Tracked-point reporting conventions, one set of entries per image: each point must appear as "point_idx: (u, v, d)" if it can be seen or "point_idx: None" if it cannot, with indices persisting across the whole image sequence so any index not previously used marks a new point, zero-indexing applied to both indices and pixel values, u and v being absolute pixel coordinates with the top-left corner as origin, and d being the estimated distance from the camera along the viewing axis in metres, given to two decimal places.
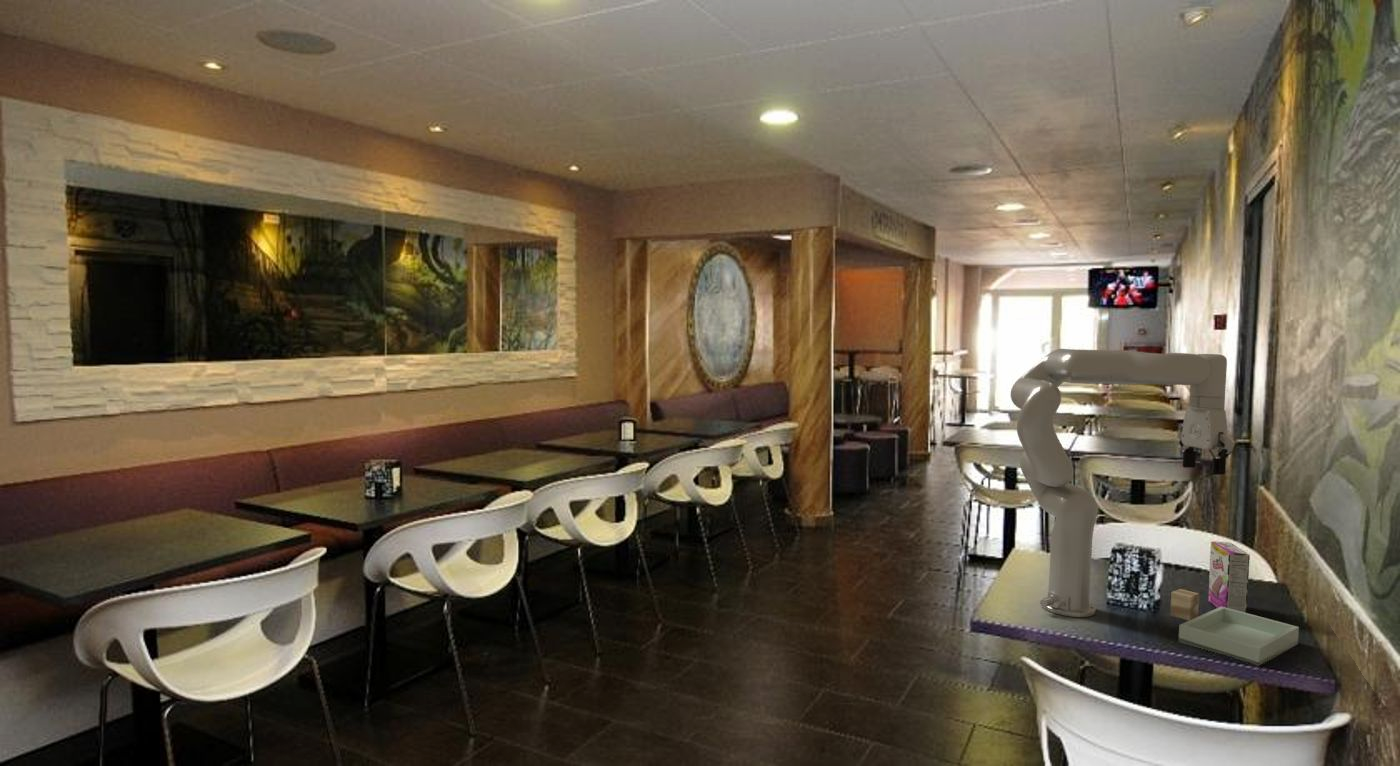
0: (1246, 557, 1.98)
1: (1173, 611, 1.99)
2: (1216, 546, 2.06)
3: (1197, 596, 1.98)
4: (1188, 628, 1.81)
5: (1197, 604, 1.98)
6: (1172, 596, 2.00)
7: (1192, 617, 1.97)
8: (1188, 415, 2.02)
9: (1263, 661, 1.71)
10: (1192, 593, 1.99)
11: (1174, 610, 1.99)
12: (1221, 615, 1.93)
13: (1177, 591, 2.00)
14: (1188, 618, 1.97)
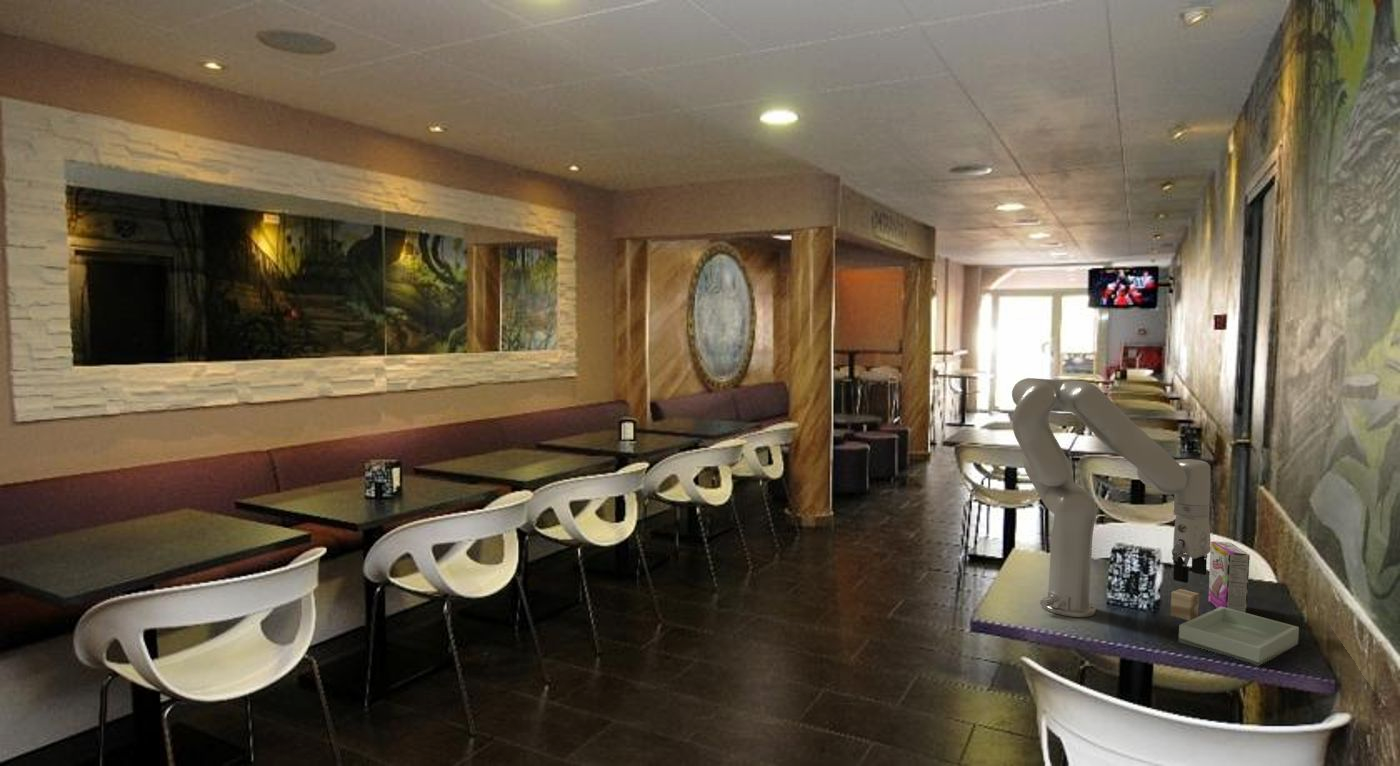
0: (1246, 557, 1.98)
1: (1173, 611, 1.99)
2: (1216, 546, 2.06)
3: (1197, 596, 1.98)
4: (1188, 628, 1.81)
5: (1197, 604, 1.98)
6: (1172, 596, 2.00)
7: (1192, 617, 1.97)
8: (1197, 527, 1.94)
9: (1263, 661, 1.71)
10: (1192, 593, 1.99)
11: (1174, 610, 1.99)
12: (1221, 615, 1.93)
13: (1177, 591, 2.00)
14: (1188, 618, 1.97)
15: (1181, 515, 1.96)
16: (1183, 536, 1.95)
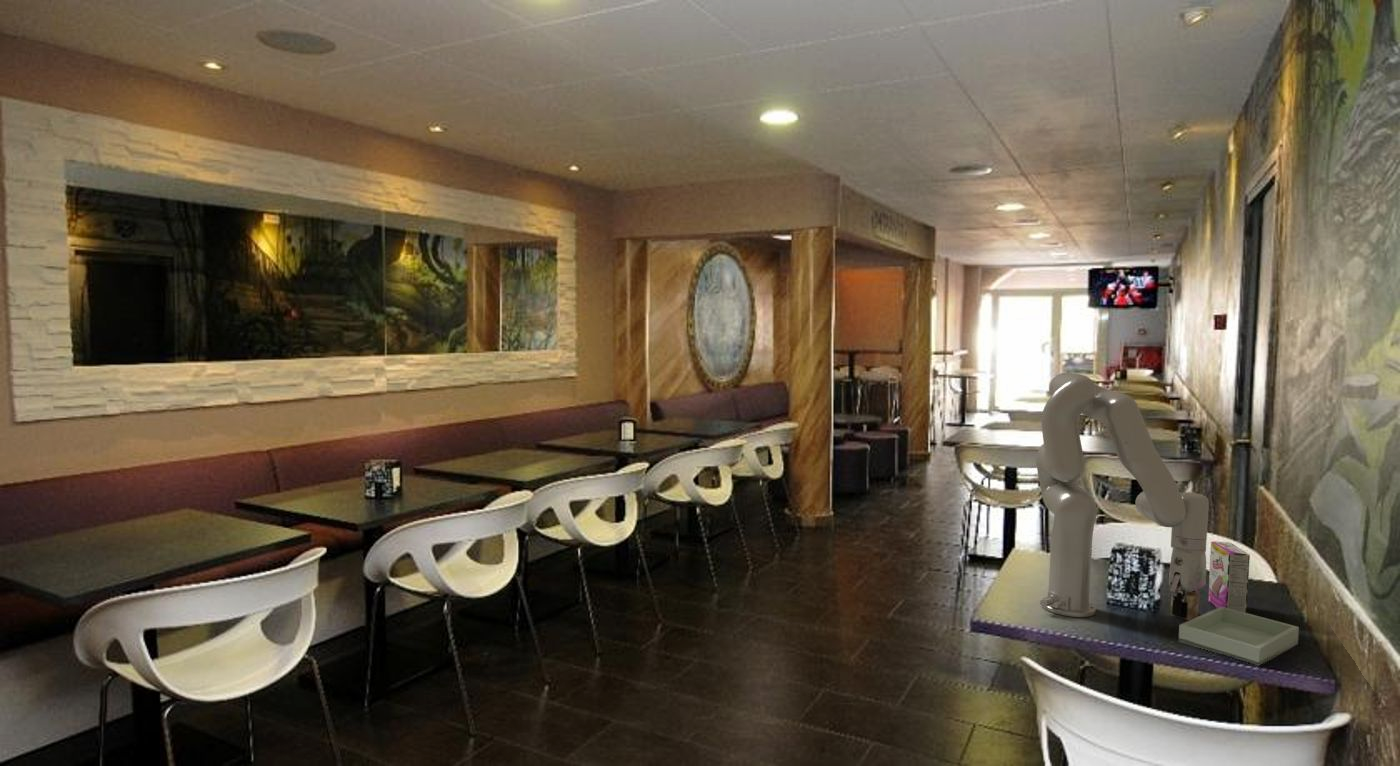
0: (1246, 557, 1.98)
1: None
2: (1216, 546, 2.06)
3: (1197, 596, 1.98)
4: (1188, 628, 1.81)
5: (1197, 604, 1.98)
6: None
7: (1192, 617, 1.97)
8: (1194, 560, 1.95)
9: (1263, 661, 1.71)
10: (1192, 593, 1.99)
11: None
12: (1221, 615, 1.93)
13: None
14: (1188, 618, 1.97)
15: (1178, 548, 1.97)
16: (1179, 569, 1.95)
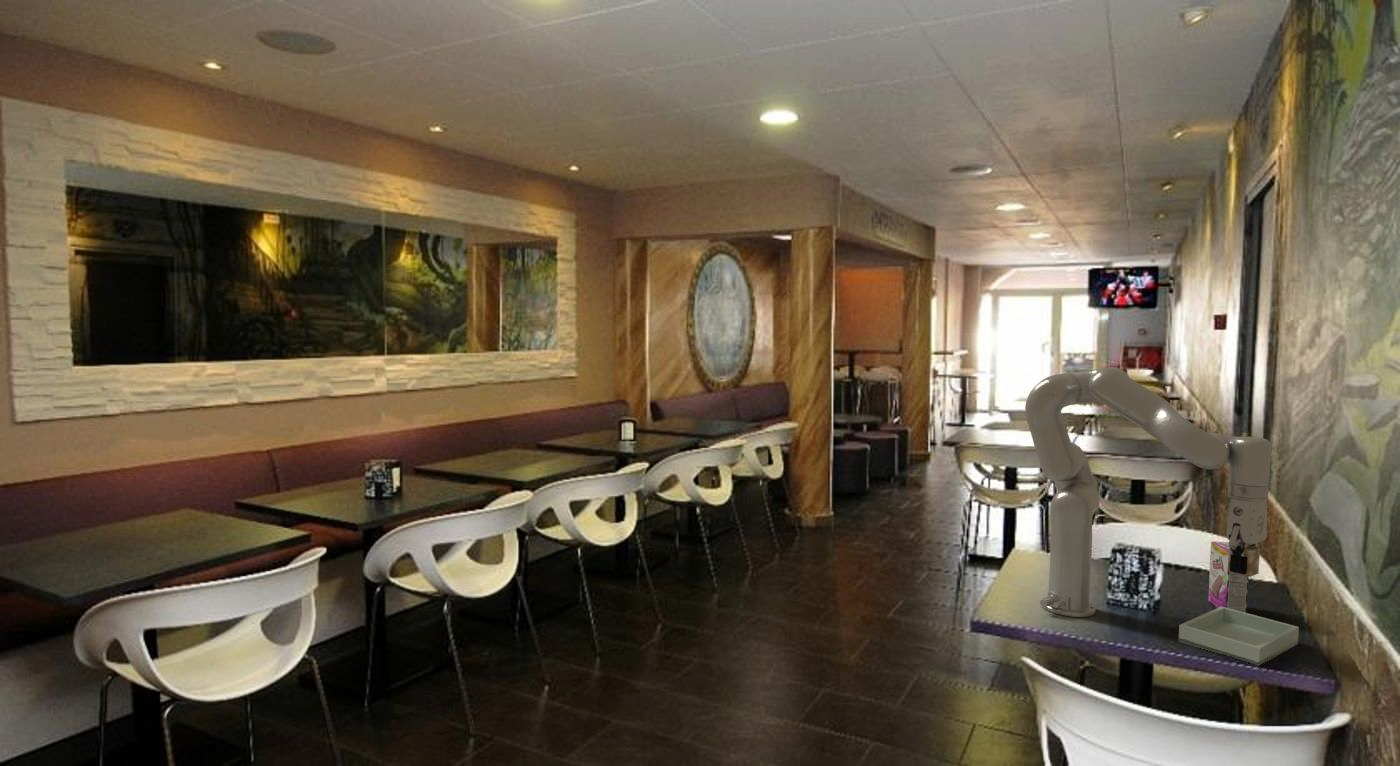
0: None
1: None
2: (1216, 546, 2.06)
3: (1258, 550, 1.80)
4: (1188, 628, 1.81)
5: (1258, 559, 1.80)
6: None
7: (1252, 573, 1.79)
8: (1255, 510, 1.77)
9: (1263, 661, 1.71)
10: (1252, 547, 1.81)
11: None
12: (1221, 615, 1.93)
13: None
14: (1248, 574, 1.79)
15: (1237, 497, 1.79)
16: (1239, 520, 1.77)
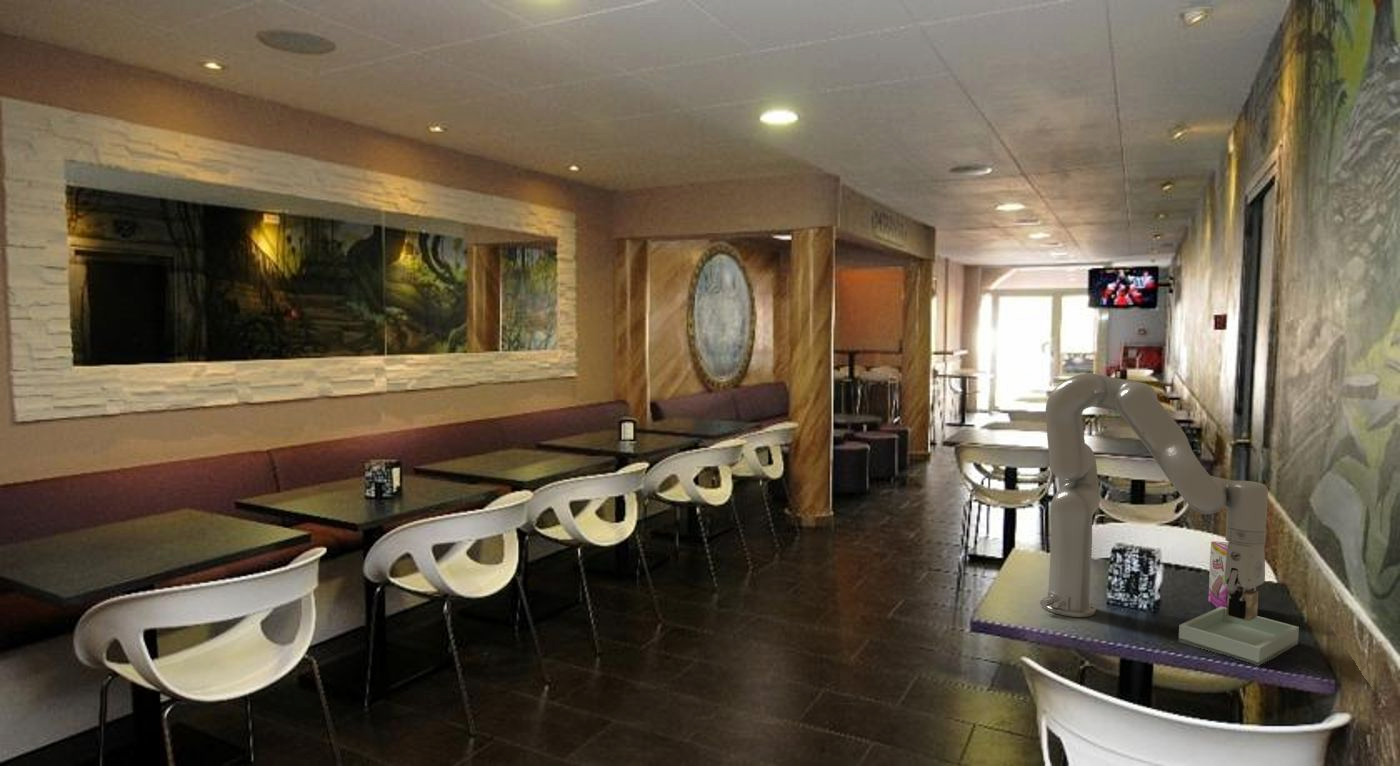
0: None
1: None
2: (1216, 546, 2.06)
3: (1256, 594, 1.81)
4: (1188, 628, 1.81)
5: (1256, 603, 1.81)
6: (1228, 594, 1.82)
7: (1251, 617, 1.80)
8: (1253, 555, 1.77)
9: (1263, 661, 1.71)
10: (1250, 591, 1.81)
11: None
12: (1221, 615, 1.93)
13: None
14: (1247, 618, 1.79)
15: (1234, 541, 1.79)
16: (1236, 565, 1.78)
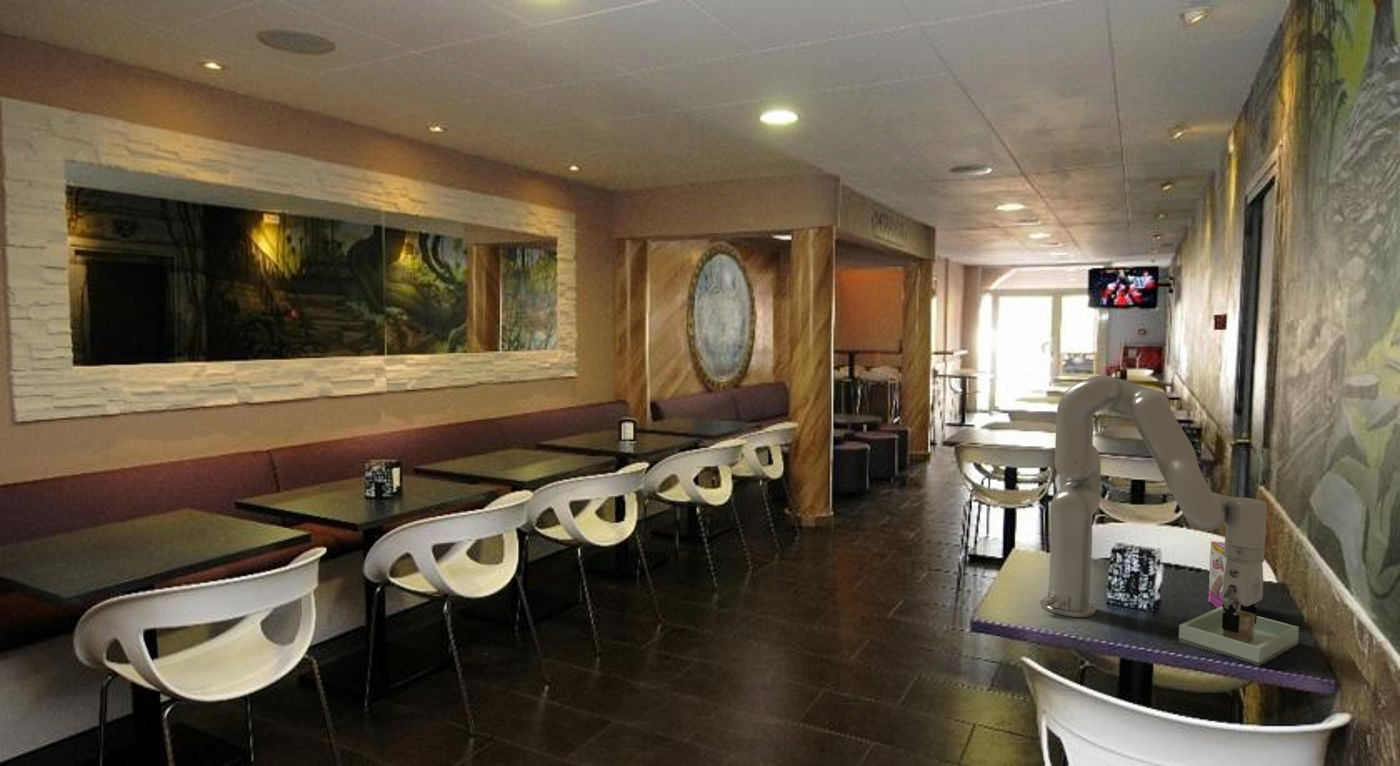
0: None
1: (1226, 633, 1.83)
2: (1216, 546, 2.06)
3: (1253, 617, 1.81)
4: (1188, 628, 1.81)
5: (1253, 626, 1.81)
6: None
7: (1247, 640, 1.80)
8: (1251, 572, 1.78)
9: (1263, 661, 1.71)
10: (1247, 614, 1.82)
11: (1227, 632, 1.82)
12: (1221, 615, 1.93)
13: None
14: (1243, 641, 1.80)
15: (1233, 558, 1.80)
16: (1235, 581, 1.78)
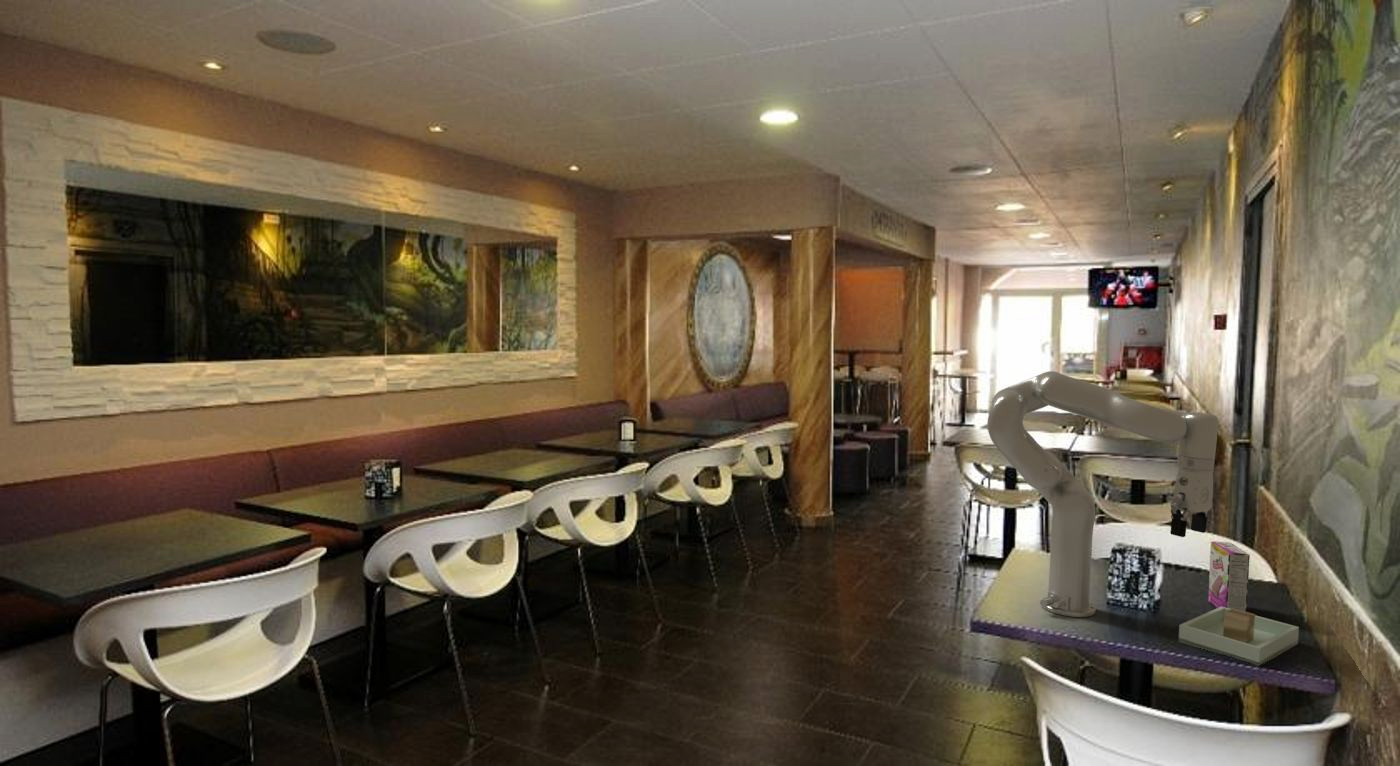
0: (1246, 557, 1.98)
1: (1226, 633, 1.83)
2: (1216, 546, 2.06)
3: (1253, 617, 1.81)
4: (1188, 628, 1.81)
5: (1253, 626, 1.81)
6: (1225, 617, 1.83)
7: (1247, 640, 1.80)
8: (1200, 480, 1.88)
9: (1263, 661, 1.71)
10: (1247, 614, 1.82)
11: (1227, 632, 1.82)
12: (1221, 615, 1.93)
13: (1230, 611, 1.83)
14: (1243, 641, 1.80)
15: (1184, 468, 1.90)
16: (1184, 489, 1.89)
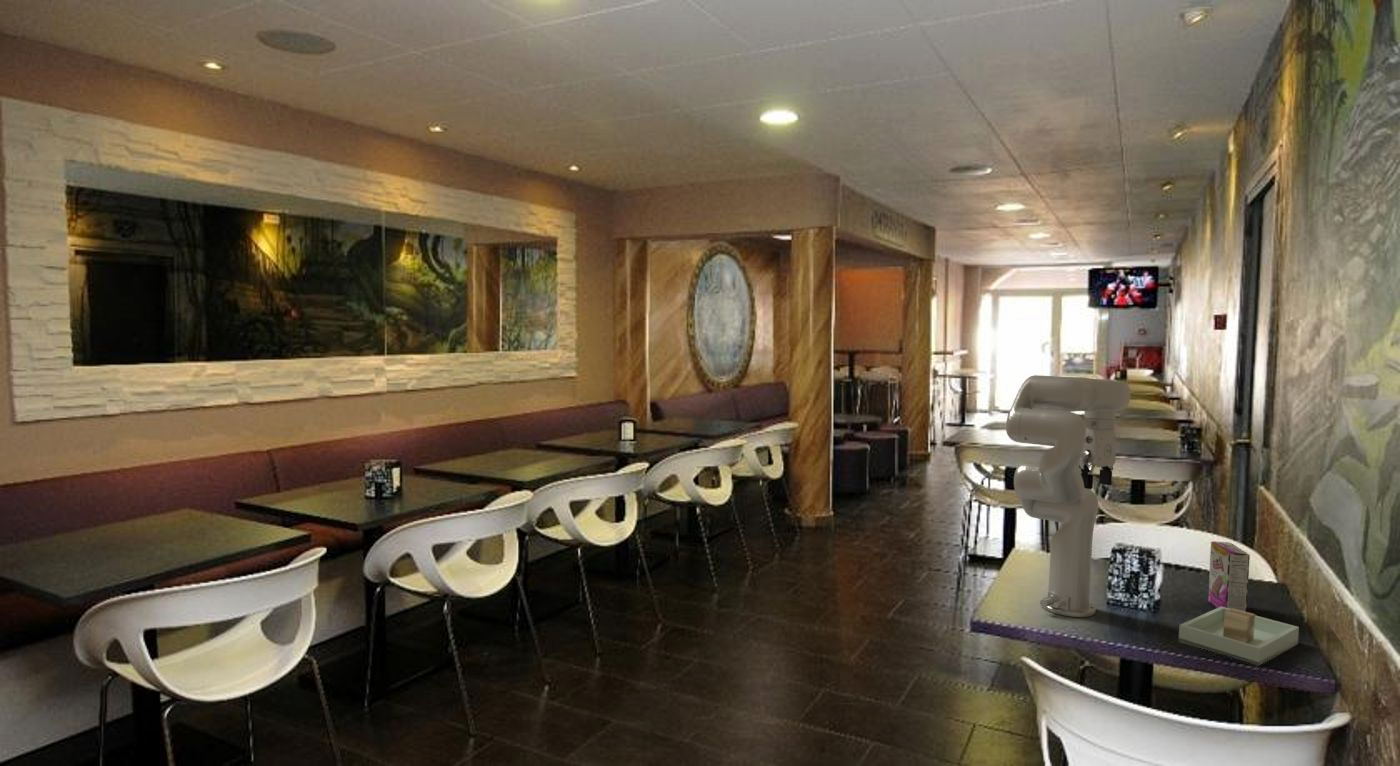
0: (1246, 557, 1.98)
1: (1226, 633, 1.83)
2: (1216, 546, 2.06)
3: (1253, 617, 1.81)
4: (1188, 628, 1.81)
5: (1253, 626, 1.81)
6: (1225, 617, 1.83)
7: (1247, 640, 1.80)
8: (1102, 438, 2.14)
9: (1263, 661, 1.71)
10: (1247, 614, 1.82)
11: (1227, 632, 1.82)
12: (1221, 615, 1.93)
13: (1230, 611, 1.83)
14: (1243, 641, 1.80)
15: (1089, 428, 2.16)
16: (1089, 447, 2.15)
